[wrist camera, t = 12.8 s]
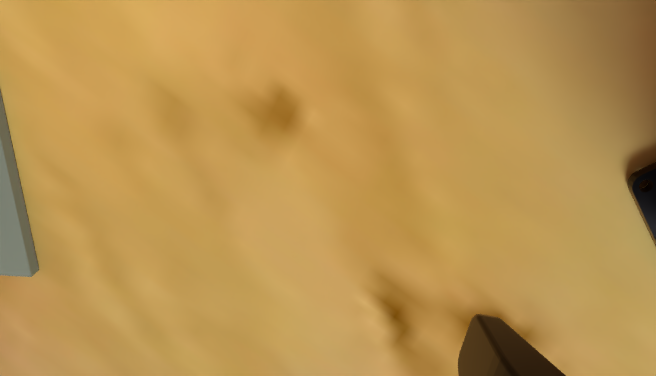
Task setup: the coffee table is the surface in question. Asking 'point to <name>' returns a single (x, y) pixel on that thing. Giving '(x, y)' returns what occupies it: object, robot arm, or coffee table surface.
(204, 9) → the coffee table surface
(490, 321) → the robot arm
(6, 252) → the green pad
